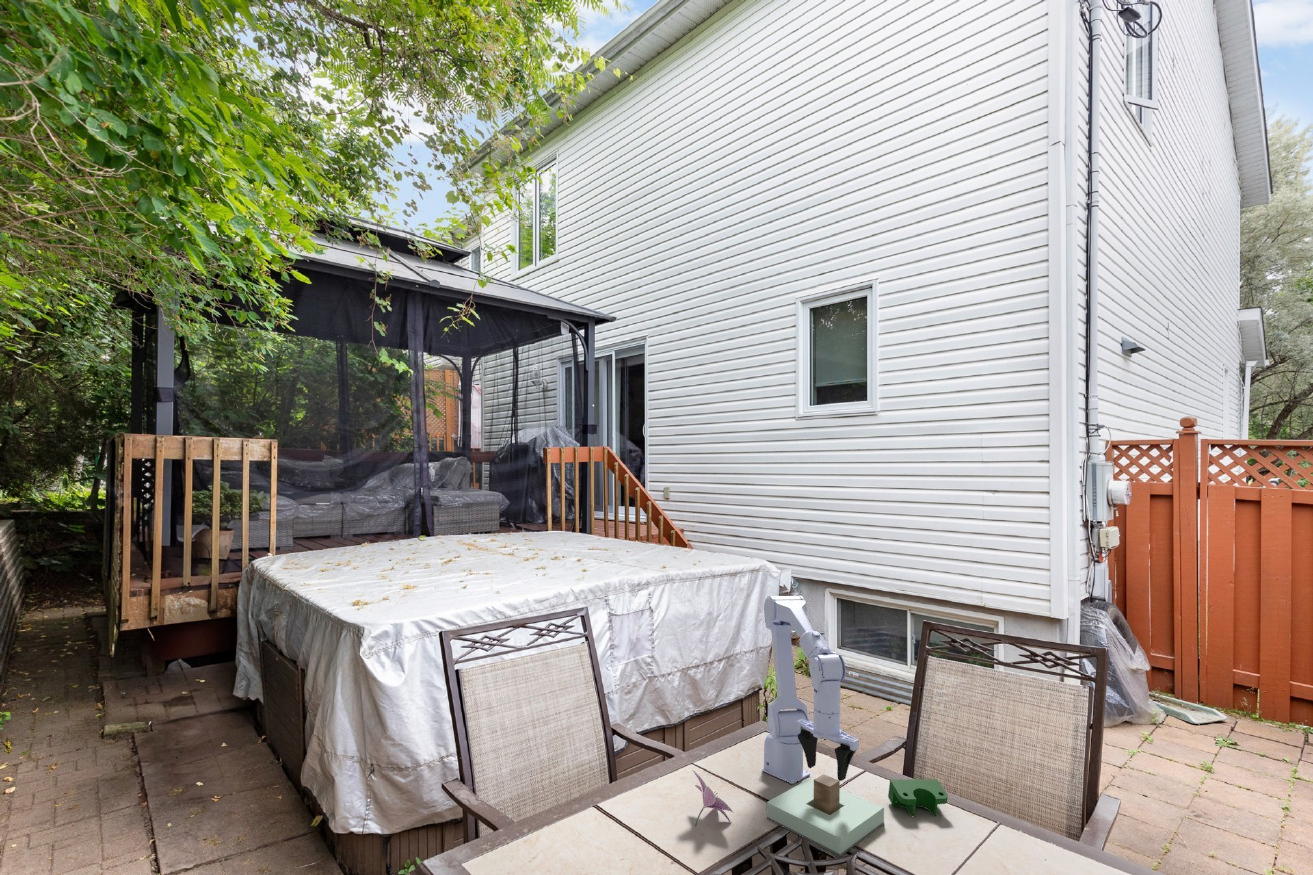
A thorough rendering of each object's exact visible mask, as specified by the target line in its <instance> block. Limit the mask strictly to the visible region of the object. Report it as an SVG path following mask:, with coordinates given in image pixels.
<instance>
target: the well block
mask: <svg viewBox="0 0 1313 875" xmlns="http://www.w3.org/2000/svg"><path fill="white" fill-rule="evenodd" d="M816 778H817V777H814V776H811V777H810V778H808V779H806V780H804V781H802V782H801V783H799V784H797V785H795V786H793V787H791V788H790V789H788V790H786V791H784V792H782V793H781V794H779V795H777V796H776V797H774V798H771V799H769V800H768V801H766V815H765V816H766V817H765V819H766V820H768V821H771V822H772V823H774V824H776V825H778V826H780V825H782V826H784V827H785V828H786V829H785V828H784V829H785V830H787V829H788V832H792V833H794V834H795V835H797V836H799V835H801V836H803V837H804V838H803V837H802V838H803V839H805V838H806V839H805V840H806V841H809V842H811V843H812V844H815V846H816V845H817V846H819V847H820V848H823V850H827V851H828V852H830V853H832V854H835V855H836V856H838V857H840V856H841V855H842V856H843V855H845V854H846V853H847V852H849V851H850V850H851V849H852V848H851V847H852V846H854V847H856V845H858V844H859V843H861V842H862V841H864V840H865V839H866V838H867V837H869V836H870V835H871V834H872V833H874V832H875V831H876V829H877V830H878V829H880V828H881V827H882V826H883V825H885V807H884V806H883V805H880V804H877V803H874V802H873V801H871V800H869V799H866V798H863V797H860V796H859V795H856V794H854V793H851V792H849V791H847V790H844V789H842V788H840V805H839V810H837V811H836V812H834V813H833V814H831V815H828V814H826V813H824V812H822V811H820V810H818V809H815V808H814V779H816ZM782 826H781V827H782ZM801 836H800V837H801ZM850 848H851V849H850ZM849 849H850V850H849ZM848 850H849V851H848ZM844 853H845V854H844ZM842 856H841V857H842Z"/></svg>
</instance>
